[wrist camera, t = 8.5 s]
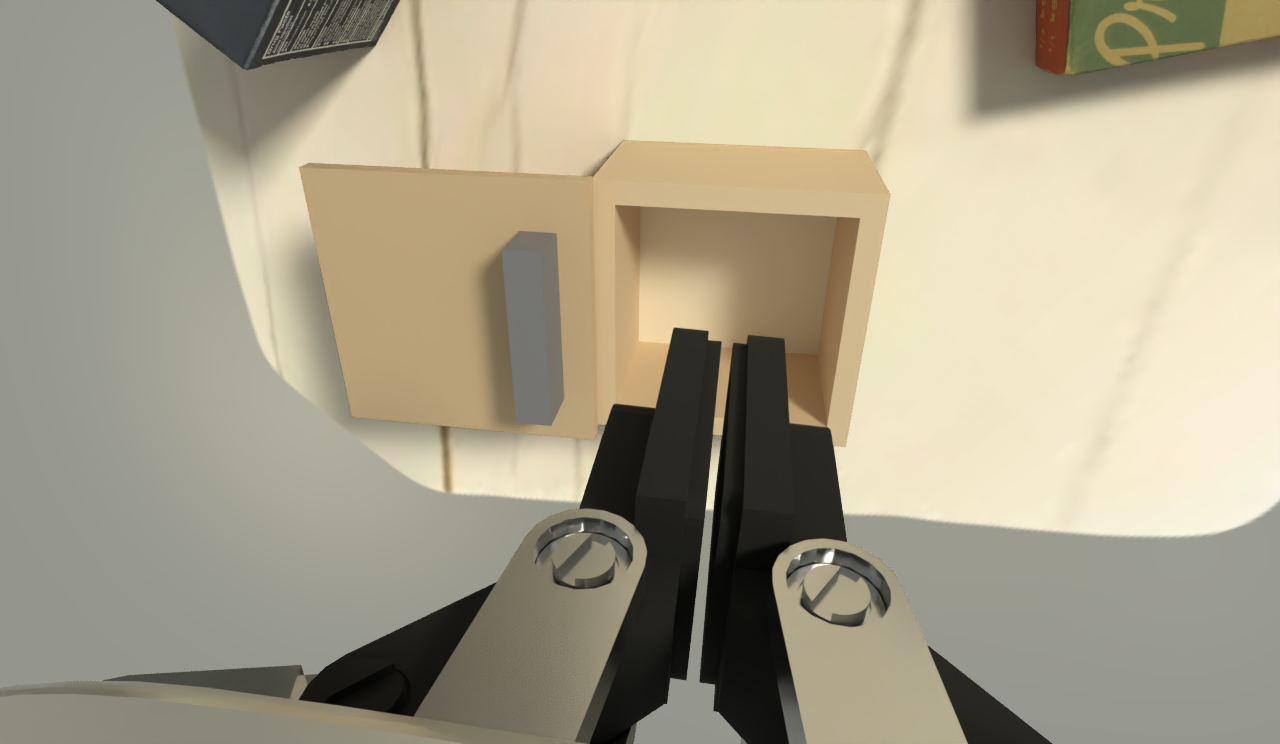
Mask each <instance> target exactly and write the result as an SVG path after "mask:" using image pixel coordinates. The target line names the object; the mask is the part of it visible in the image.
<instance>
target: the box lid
mask: <svg viewBox="0 0 1280 744" xmlns="http://www.w3.org/2000/svg"><path fill="white" fill-rule="evenodd" d="M299 169H300V174H301V179H302V183H303V188H304V193H305V198H306V202H307V207H308V212H309V216H310V221H311V226H312V231H313V235H314V240H315V245H316V250H317V254H318V259H319V264H320V268H321V273H322V278H323V283H324V287H325V292H326V297H327V301H328V306H329V311H330V316H331V320H332V325H333V330H334V334H335V339H336V344H337V349H338V353H339V358H340V363H341V367H342V372H343V377H344V382H345V386H346V391H347V396H348V400H349V405H350V410H351V415H352V417H356V418H366V419H377V420H387V421H398V422H408V423H419V424H429V425H440V426H450V427H461V428H471V429H482V430H493V431H503V432H514V433H524V434H535V435H545V436H556V437H566V438H577V439H587V440H595V438H596V435H597V432H598V412H597V363H596V314H595V265H594V216H593V177H586V176H565V175H545V174H525V173H504V172H484V171H463V170H443V169H422V168H402V167H381V166H361V165H341V164H320V163H308V164H306V165H303V166H301V167H299Z"/></svg>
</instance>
